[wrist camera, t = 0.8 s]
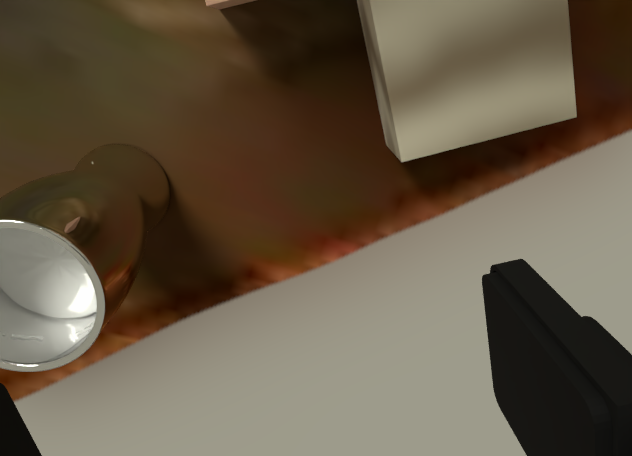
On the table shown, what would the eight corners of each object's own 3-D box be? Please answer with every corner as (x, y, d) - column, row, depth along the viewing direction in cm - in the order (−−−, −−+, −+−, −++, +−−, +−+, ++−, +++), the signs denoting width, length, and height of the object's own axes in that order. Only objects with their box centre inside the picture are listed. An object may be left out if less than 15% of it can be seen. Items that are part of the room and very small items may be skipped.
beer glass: (197, 174, 35) (142, 274, 21) (145, 259, 37) (62, 403, 23) (97, 114, 33) (-37, 178, 19) (47, 205, 35) (-109, 325, 21)
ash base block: (351, -21, 32) (364, -29, 27) (519, -66, 32) (561, -82, 27) (385, 144, 35) (401, 162, 31) (537, 105, 35) (576, 117, 30)
